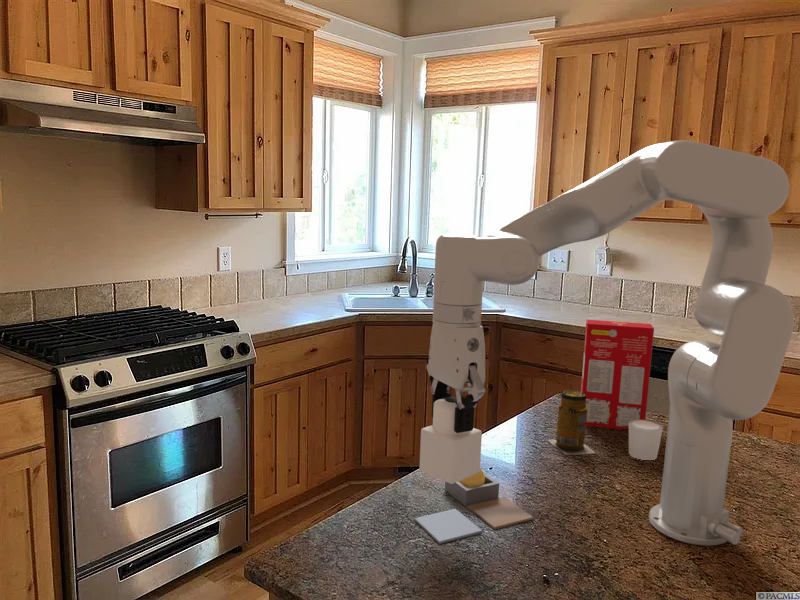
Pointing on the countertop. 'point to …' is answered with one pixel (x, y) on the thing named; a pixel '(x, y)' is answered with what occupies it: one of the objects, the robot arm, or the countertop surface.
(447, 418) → the medicine bottle
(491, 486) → the dome housing
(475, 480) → the dome
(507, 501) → the step square
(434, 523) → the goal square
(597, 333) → the food packaging
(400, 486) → the countertop surface
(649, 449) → the white tapered cylinder
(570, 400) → the condiment
